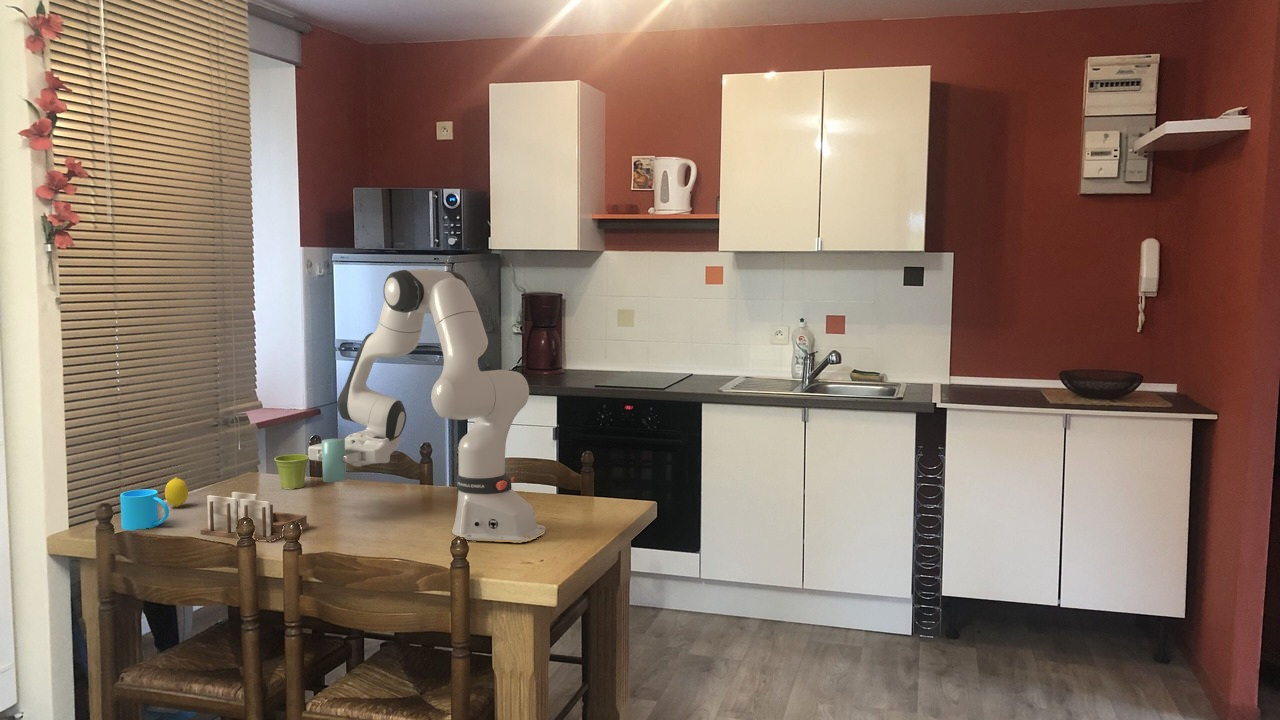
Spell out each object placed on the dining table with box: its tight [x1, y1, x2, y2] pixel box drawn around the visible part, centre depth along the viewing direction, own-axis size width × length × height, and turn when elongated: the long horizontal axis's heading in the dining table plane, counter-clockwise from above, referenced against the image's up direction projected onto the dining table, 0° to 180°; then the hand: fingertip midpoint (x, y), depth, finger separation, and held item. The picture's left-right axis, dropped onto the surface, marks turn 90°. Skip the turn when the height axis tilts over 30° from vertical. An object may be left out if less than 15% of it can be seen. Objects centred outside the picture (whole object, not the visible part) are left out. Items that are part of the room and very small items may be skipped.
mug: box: [119, 488, 170, 531], centre depth 245 cm, size 12×8×8 cm
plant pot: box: [274, 454, 310, 490], centre depth 287 cm, size 9×9×9 cm
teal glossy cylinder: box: [321, 438, 347, 483], centre depth 252 cm, size 6×6×10 cm
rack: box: [199, 491, 310, 541], centre depth 242 cm, size 20×14×9 cm
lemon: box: [164, 476, 189, 508], centre depth 263 cm, size 6×6×8 cm
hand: (331, 458), depth 251 cm, fingers closed on teal glossy cylinder, 6 cm apart
